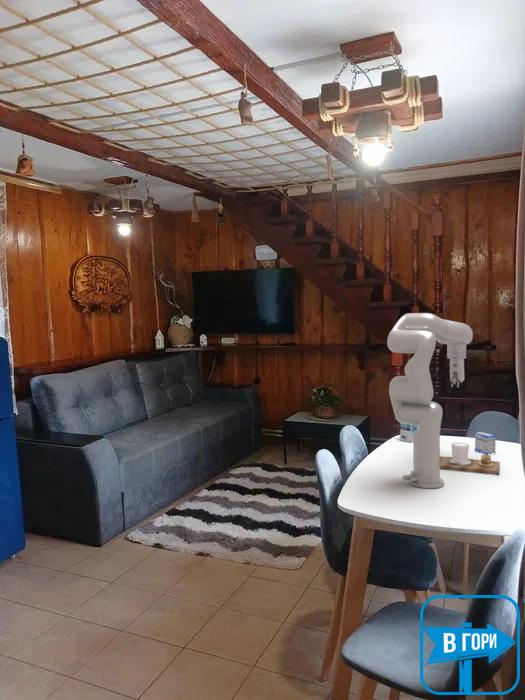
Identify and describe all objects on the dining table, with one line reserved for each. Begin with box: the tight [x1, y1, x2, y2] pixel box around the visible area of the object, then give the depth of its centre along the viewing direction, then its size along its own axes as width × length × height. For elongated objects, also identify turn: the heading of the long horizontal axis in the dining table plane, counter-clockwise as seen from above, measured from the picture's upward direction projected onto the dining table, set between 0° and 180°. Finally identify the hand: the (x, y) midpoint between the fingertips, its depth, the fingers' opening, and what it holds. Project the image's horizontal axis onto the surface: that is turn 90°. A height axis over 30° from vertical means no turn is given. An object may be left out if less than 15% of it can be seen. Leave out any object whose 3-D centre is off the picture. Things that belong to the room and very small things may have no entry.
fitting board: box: [440, 454, 501, 476], centre depth 218 cm, size 24×14×5 cm, turn 65°
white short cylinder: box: [450, 442, 470, 463], centre depth 219 cm, size 7×7×7 cm
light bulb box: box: [399, 422, 420, 444], centre depth 264 cm, size 11×7×11 cm, turn 137°
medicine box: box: [474, 431, 497, 455], centre depth 238 cm, size 8×4×9 cm, turn 25°
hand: (456, 394), depth 224 cm, fingers open, 9 cm apart
